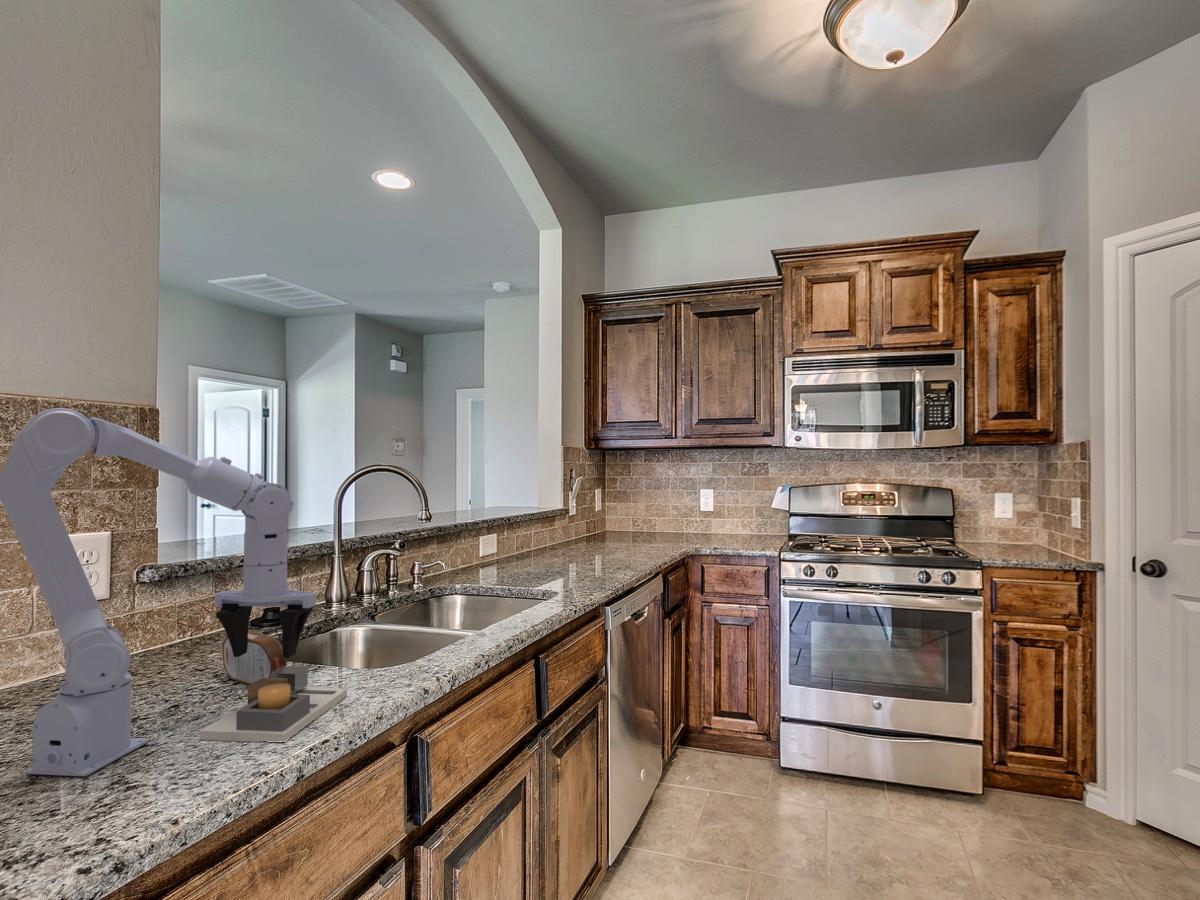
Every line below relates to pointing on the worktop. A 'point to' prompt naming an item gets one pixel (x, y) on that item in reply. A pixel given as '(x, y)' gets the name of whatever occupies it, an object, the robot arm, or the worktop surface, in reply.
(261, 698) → the orange button
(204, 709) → the worktop surface
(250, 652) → the tin
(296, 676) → the grey slider
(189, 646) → the worktop surface
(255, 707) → the panel
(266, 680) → the small cardboard carton
